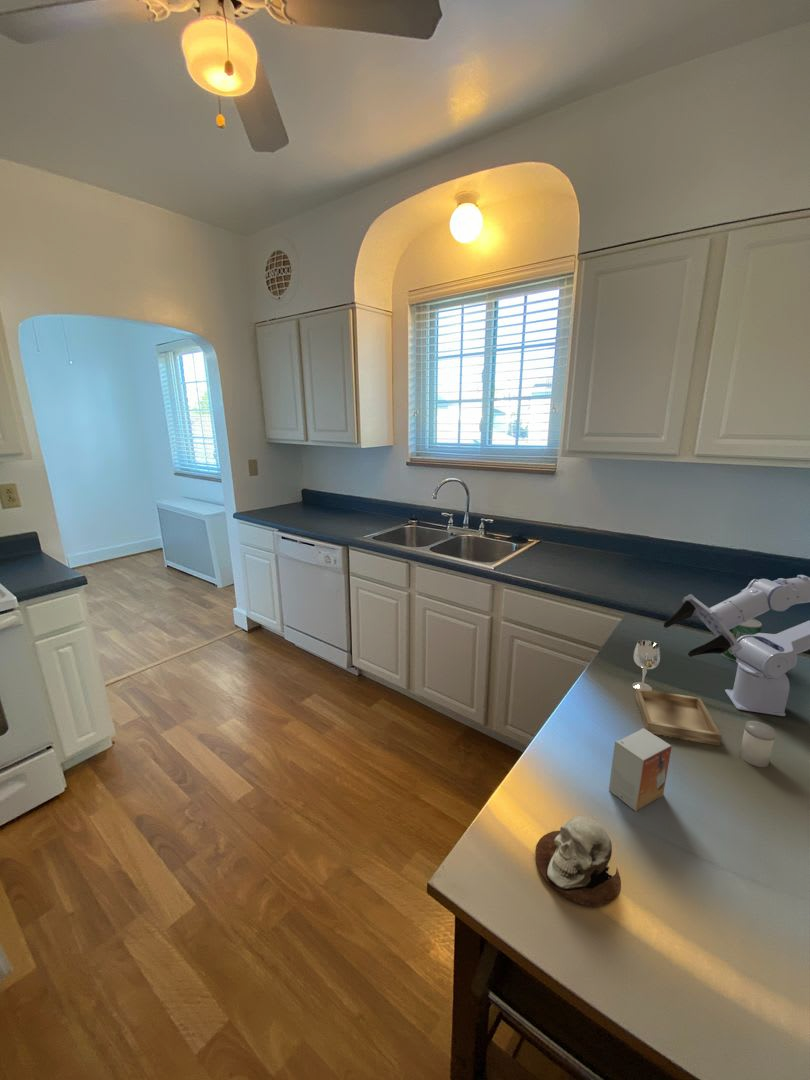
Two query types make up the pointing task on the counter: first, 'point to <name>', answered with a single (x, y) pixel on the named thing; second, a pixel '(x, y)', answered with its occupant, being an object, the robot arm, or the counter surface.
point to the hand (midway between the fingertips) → (677, 639)
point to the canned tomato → (743, 633)
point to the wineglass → (646, 659)
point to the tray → (677, 716)
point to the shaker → (757, 743)
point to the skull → (579, 862)
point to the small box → (639, 768)
